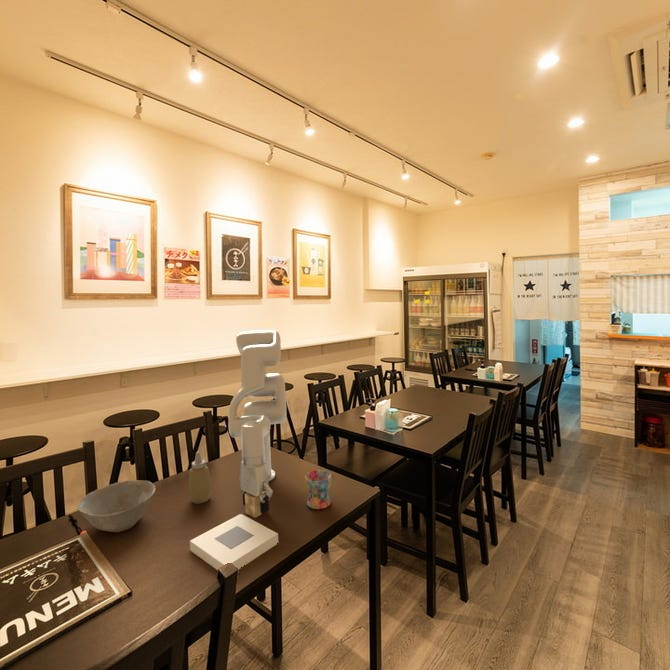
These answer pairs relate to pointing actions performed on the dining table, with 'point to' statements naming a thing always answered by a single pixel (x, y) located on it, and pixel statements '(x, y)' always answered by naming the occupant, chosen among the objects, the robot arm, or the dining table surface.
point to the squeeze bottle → (199, 481)
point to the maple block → (253, 504)
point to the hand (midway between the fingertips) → (256, 507)
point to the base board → (234, 542)
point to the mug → (318, 488)
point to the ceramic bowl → (117, 505)
